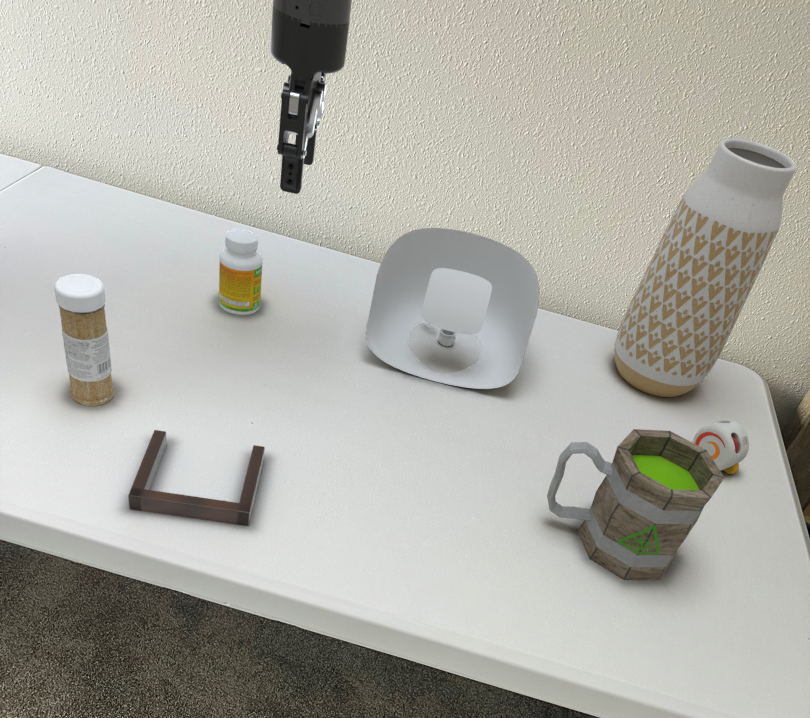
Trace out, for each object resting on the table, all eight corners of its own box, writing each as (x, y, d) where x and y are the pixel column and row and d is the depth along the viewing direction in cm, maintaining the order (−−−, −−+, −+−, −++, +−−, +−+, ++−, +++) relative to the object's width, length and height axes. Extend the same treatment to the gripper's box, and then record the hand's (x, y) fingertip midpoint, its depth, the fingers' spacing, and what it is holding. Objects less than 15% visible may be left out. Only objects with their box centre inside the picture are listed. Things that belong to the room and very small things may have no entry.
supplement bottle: (258, 318, 103) (262, 248, 96) (216, 313, 102) (217, 242, 95) (260, 298, 107) (264, 229, 100) (220, 293, 106) (221, 223, 99)
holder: (129, 510, 75) (128, 495, 74) (155, 444, 82) (154, 429, 81) (248, 527, 76) (249, 512, 75) (263, 460, 84) (264, 446, 82)
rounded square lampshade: (520, 329, 114) (545, 252, 105) (510, 402, 100) (537, 320, 92) (387, 294, 114) (401, 214, 105) (358, 363, 100) (372, 277, 92)
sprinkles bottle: (95, 378, 88) (82, 267, 79) (123, 397, 87) (114, 286, 77) (61, 394, 85) (43, 280, 76) (89, 413, 84) (75, 300, 74)
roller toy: (703, 443, 101) (724, 407, 97) (741, 474, 98) (764, 438, 94) (681, 452, 99) (702, 415, 95) (719, 483, 96) (742, 446, 92)
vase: (587, 350, 113) (678, 125, 91) (666, 349, 117) (769, 134, 96) (634, 409, 104) (746, 175, 83) (716, 404, 109) (842, 182, 87)
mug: (672, 527, 88) (721, 445, 80) (674, 596, 81) (728, 513, 72) (538, 488, 89) (573, 402, 80) (527, 552, 81) (564, 465, 73)
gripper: (287, -16, 81) (276, 147, 92) (258, 15, 71) (250, 194, 82) (358, 1, 82) (338, 161, 93) (340, 34, 71) (320, 209, 83)
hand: (297, 176), depth 88 cm, fingers open, 8 cm apart
